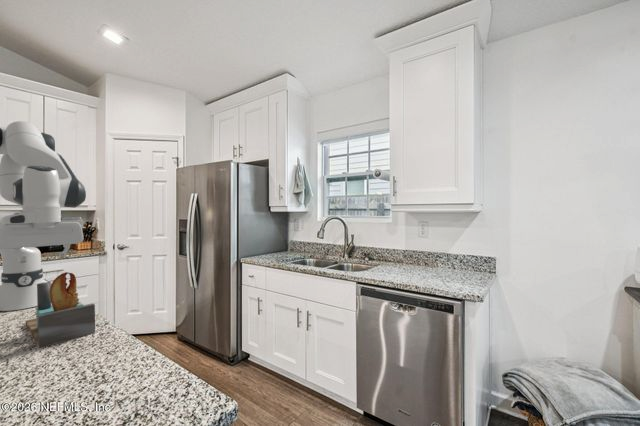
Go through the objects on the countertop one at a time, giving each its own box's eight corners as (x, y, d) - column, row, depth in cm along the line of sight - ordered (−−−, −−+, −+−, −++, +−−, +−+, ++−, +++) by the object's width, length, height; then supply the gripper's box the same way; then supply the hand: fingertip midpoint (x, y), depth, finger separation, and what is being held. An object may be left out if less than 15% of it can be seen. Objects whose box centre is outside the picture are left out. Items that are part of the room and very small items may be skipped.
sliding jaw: (36, 327, 94) (35, 283, 94) (77, 317, 102) (77, 277, 102) (40, 333, 90) (39, 287, 89) (83, 322, 98) (82, 280, 98)
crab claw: (50, 341, 88) (49, 275, 87) (49, 336, 91) (48, 272, 91) (80, 334, 93) (79, 271, 92) (78, 329, 96) (77, 268, 96)
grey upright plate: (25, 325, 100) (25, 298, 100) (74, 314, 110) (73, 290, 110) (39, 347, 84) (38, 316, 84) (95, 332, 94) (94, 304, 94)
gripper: (80, 215, 104) (81, 254, 104) (-6, 217, 88) (-5, 263, 88) (85, 216, 100) (86, 257, 100) (-4, 218, 84) (-3, 266, 84)
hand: (43, 260), depth 94 cm, fingers open, 8 cm apart
